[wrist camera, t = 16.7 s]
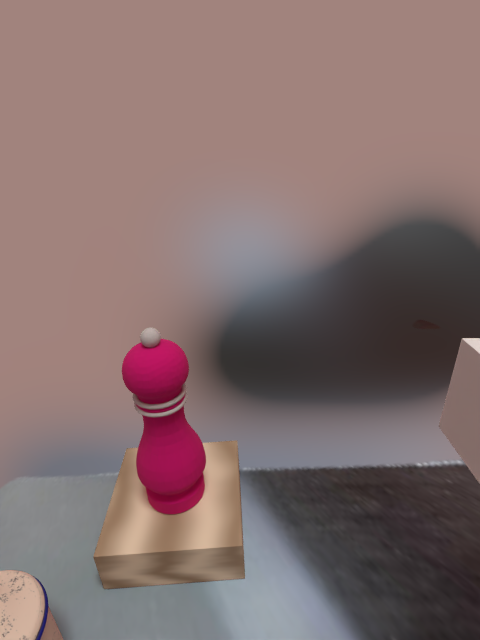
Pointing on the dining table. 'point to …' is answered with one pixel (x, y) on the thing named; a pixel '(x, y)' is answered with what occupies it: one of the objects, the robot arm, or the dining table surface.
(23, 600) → the teacup with lid
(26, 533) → the dining table surface
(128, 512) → the birch block
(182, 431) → the pepper mill
